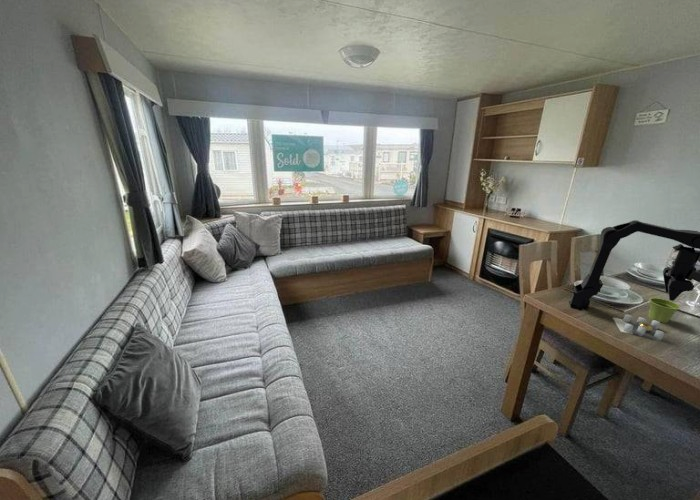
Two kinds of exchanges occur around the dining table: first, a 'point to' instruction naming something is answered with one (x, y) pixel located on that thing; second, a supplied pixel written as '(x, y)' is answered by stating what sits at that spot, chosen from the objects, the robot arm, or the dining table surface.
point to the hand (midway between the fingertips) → (669, 296)
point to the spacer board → (631, 327)
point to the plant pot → (662, 309)
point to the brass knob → (645, 325)
